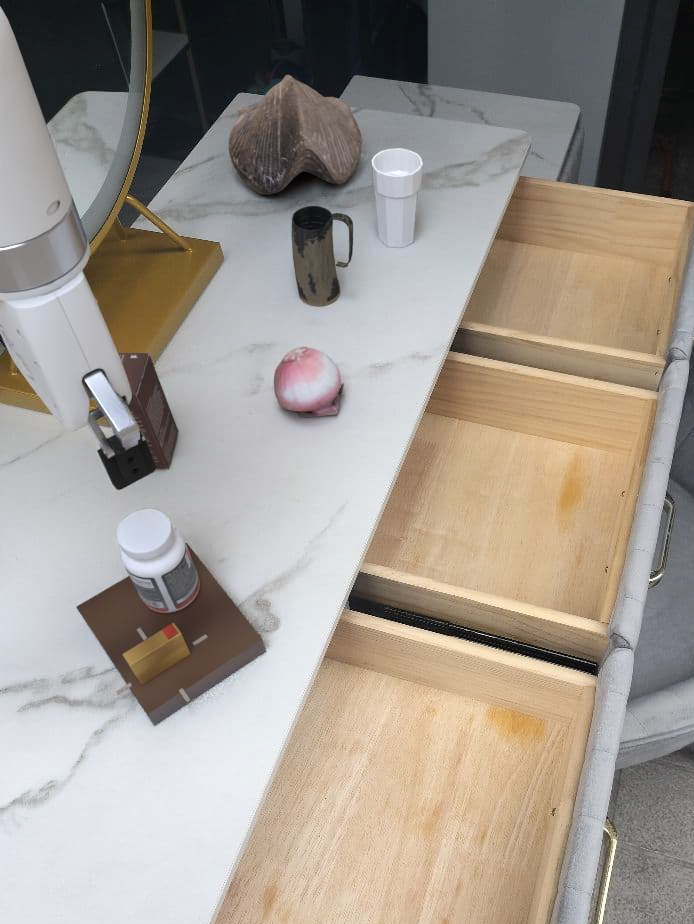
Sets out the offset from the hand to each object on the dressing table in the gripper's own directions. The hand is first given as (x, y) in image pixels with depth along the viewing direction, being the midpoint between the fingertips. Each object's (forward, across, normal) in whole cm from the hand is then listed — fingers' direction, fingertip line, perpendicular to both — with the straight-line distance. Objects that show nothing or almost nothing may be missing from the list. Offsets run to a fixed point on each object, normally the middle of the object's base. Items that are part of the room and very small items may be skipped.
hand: (104, 438), depth 61 cm
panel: (+24, +3, -2) cm, 25 cm away
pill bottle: (+22, 0, 0) cm, 22 cm away
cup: (+24, -33, +54) cm, 68 cm away
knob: (+22, +7, -5) cm, 23 cm away
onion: (+24, -14, +26) cm, 38 cm away
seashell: (+24, -54, +52) cm, 79 cm away
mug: (+24, -29, +39) cm, 54 cm away
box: (+24, -19, +8) cm, 32 cm away
